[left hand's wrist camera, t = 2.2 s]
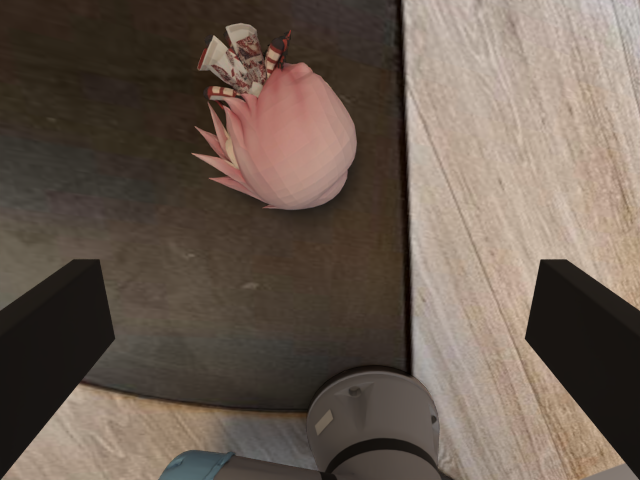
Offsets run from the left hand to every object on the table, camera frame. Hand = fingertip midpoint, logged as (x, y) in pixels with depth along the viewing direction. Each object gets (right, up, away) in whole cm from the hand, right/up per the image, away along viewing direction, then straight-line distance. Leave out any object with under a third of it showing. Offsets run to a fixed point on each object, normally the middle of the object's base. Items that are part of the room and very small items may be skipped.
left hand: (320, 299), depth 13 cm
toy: (-4, +12, +25) cm, 28 cm away
